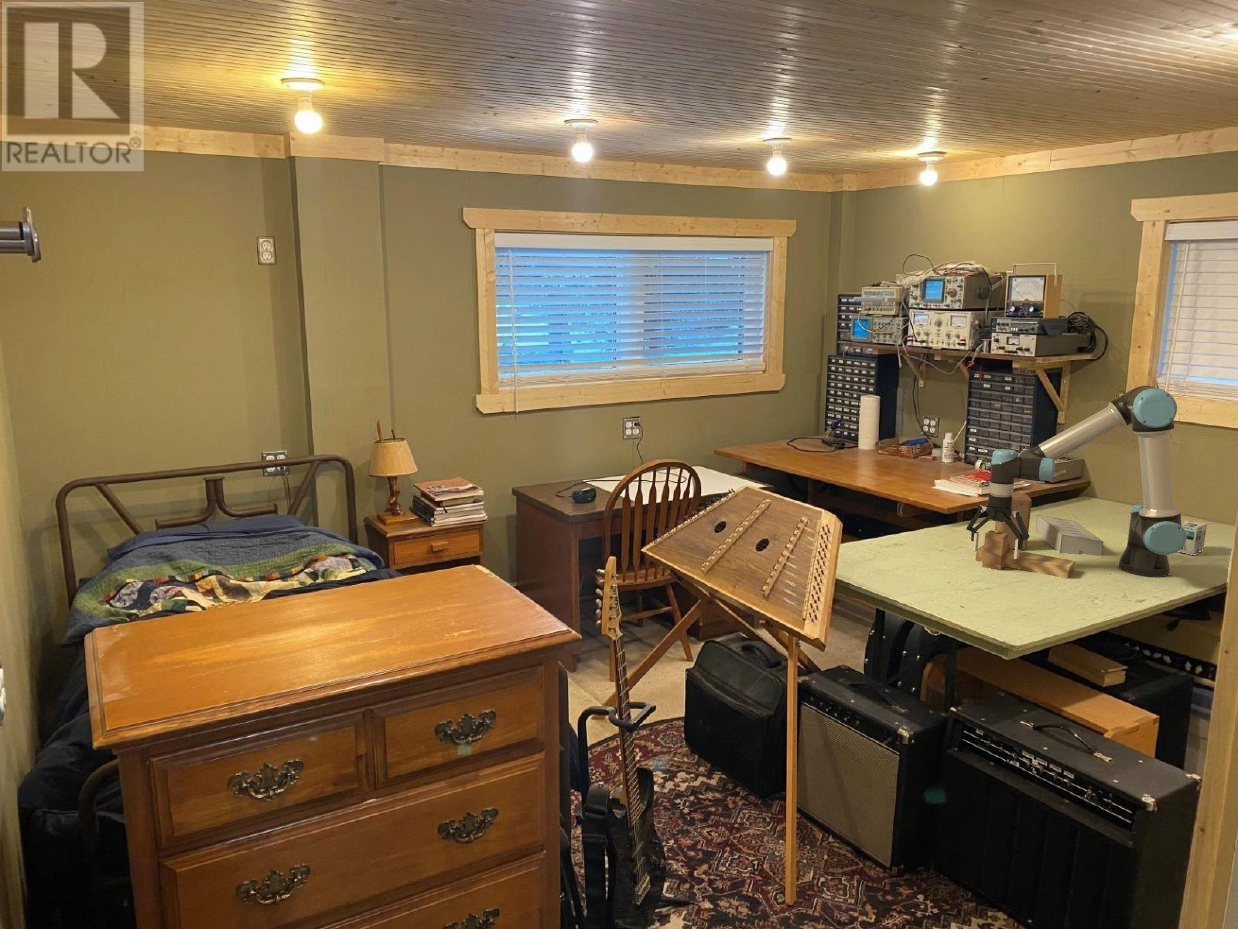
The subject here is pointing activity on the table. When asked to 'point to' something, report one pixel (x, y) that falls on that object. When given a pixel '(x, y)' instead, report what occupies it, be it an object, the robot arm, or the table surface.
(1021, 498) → the wooden block
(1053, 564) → the plank
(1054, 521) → the warehouse
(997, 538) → the wooden box
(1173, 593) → the table surface
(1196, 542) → the light bulb box
